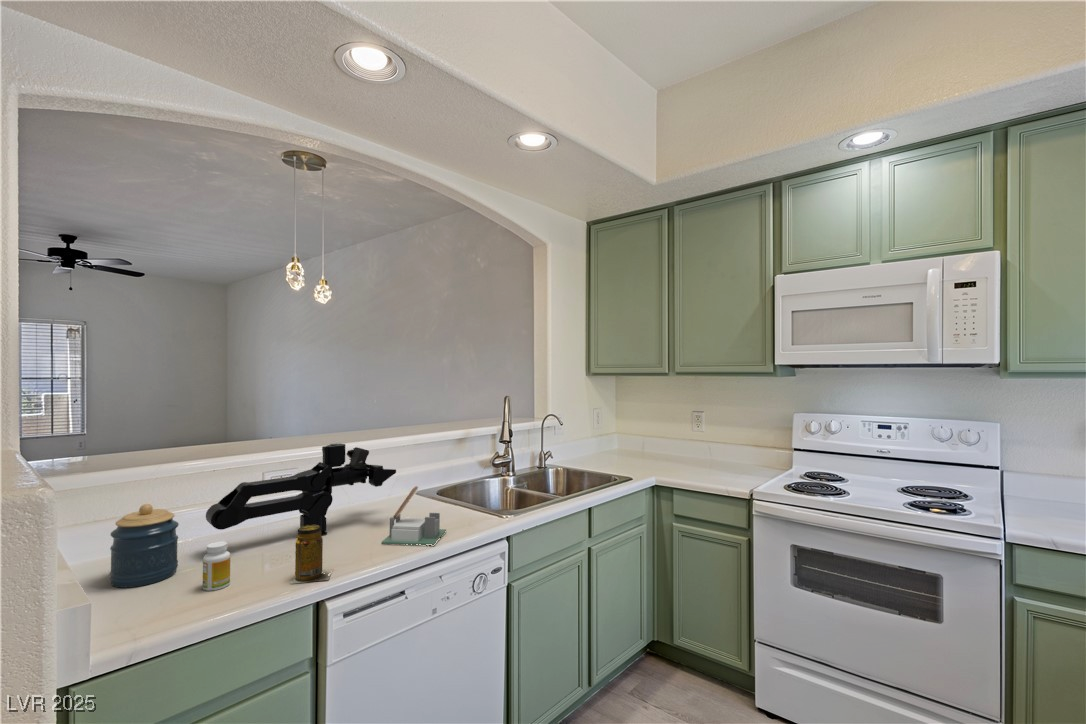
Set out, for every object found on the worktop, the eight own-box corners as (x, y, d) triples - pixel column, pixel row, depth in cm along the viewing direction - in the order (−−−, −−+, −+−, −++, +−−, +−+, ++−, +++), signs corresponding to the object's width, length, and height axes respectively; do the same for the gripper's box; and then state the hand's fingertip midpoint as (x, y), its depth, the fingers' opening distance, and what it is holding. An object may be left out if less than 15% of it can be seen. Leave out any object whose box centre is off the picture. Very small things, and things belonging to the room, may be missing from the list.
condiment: (297, 572, 125) (297, 524, 126) (333, 569, 127) (334, 521, 128) (290, 584, 118) (290, 533, 118) (328, 581, 120) (329, 530, 120)
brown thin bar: (390, 519, 150) (412, 488, 150) (394, 516, 153) (416, 485, 153) (393, 521, 150) (415, 490, 150) (397, 518, 153) (418, 487, 153)
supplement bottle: (234, 581, 120) (235, 540, 120) (221, 591, 114) (221, 548, 115) (211, 581, 120) (212, 540, 120) (197, 591, 114) (197, 548, 114)
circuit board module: (381, 544, 145) (381, 520, 145) (398, 530, 158) (398, 508, 158) (433, 546, 144) (434, 521, 144) (446, 531, 157) (446, 509, 157)
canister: (107, 576, 122) (108, 503, 122) (172, 562, 131) (174, 494, 131) (112, 594, 113) (113, 515, 113) (182, 577, 122) (183, 504, 122)
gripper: (357, 454, 155) (403, 448, 166) (332, 447, 168) (376, 442, 179) (357, 490, 154) (403, 482, 166) (332, 480, 168) (376, 474, 179)
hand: (389, 469), depth 172 cm, fingers open, 9 cm apart
